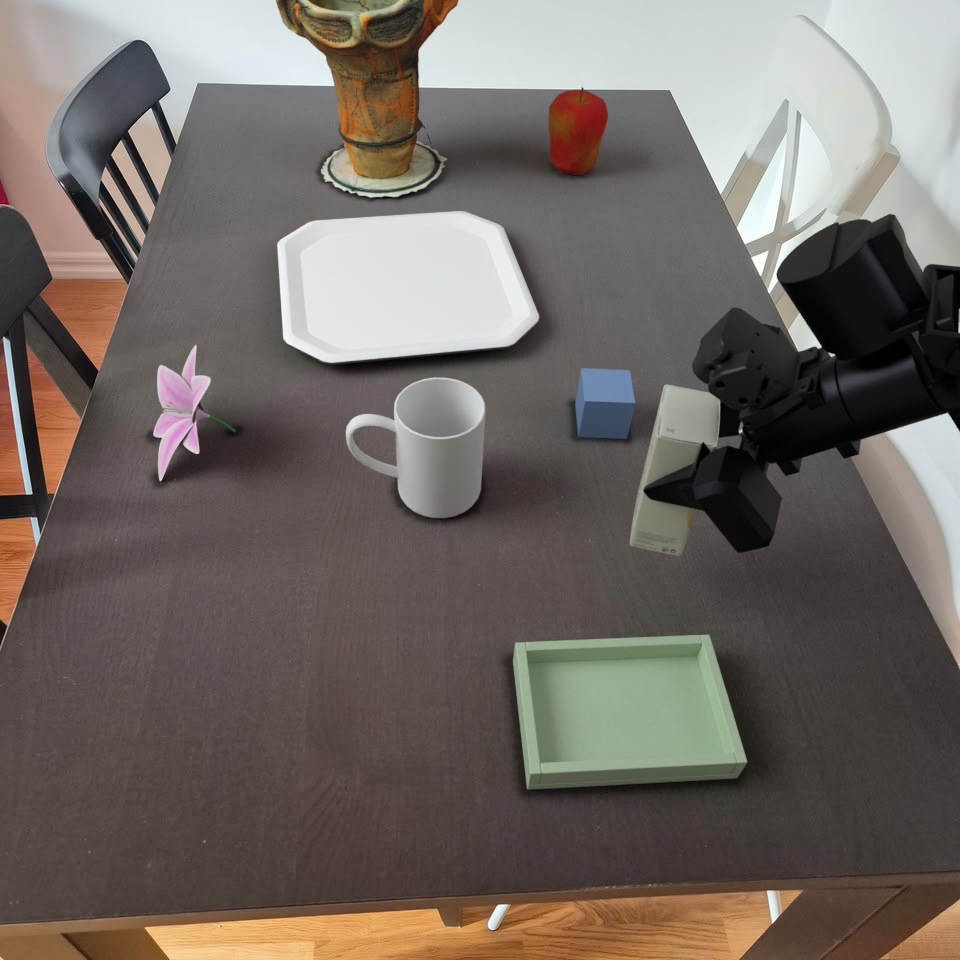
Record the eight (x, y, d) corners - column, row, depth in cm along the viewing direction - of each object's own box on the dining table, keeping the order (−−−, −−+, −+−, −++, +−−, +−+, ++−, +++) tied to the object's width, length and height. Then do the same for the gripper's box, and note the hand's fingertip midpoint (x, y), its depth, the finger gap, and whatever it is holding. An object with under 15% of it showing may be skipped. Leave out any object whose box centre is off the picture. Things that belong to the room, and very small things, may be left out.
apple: (535, 157, 126) (543, 76, 117) (587, 152, 127) (599, 72, 119) (554, 185, 120) (563, 102, 112) (608, 179, 122) (621, 98, 113)
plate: (287, 381, 89) (284, 365, 87) (277, 236, 108) (275, 221, 106) (548, 356, 94) (550, 340, 92) (495, 222, 113) (496, 207, 111)
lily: (181, 398, 88) (115, 352, 80) (276, 373, 84) (217, 322, 76) (168, 502, 83) (95, 464, 75) (268, 481, 79) (204, 438, 71)
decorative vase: (300, 136, 127) (273, -78, 107) (450, 135, 130) (452, -75, 109) (293, 206, 113) (261, -25, 93) (461, 203, 116) (467, -23, 95)
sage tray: (701, 652, 68) (709, 634, 66) (737, 778, 61) (748, 762, 59) (512, 660, 67) (515, 641, 65) (527, 790, 60) (530, 774, 58)
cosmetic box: (681, 559, 66) (718, 450, 57) (627, 547, 67) (655, 438, 58) (688, 501, 71) (723, 391, 62) (637, 490, 71) (664, 381, 62)
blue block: (622, 406, 88) (630, 369, 85) (626, 439, 85) (635, 402, 81) (575, 404, 88) (581, 367, 85) (578, 437, 85) (584, 400, 81)
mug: (474, 455, 83) (478, 373, 75) (486, 515, 77) (492, 434, 70) (350, 465, 81) (341, 383, 73) (355, 528, 76) (345, 446, 68)
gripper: (812, 225, 57) (629, 318, 67) (769, 390, 45) (555, 471, 55) (888, 347, 61) (703, 417, 71) (867, 529, 49) (649, 580, 59)
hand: (657, 463), depth 64 cm, fingers closed on cosmetic box, 6 cm apart
